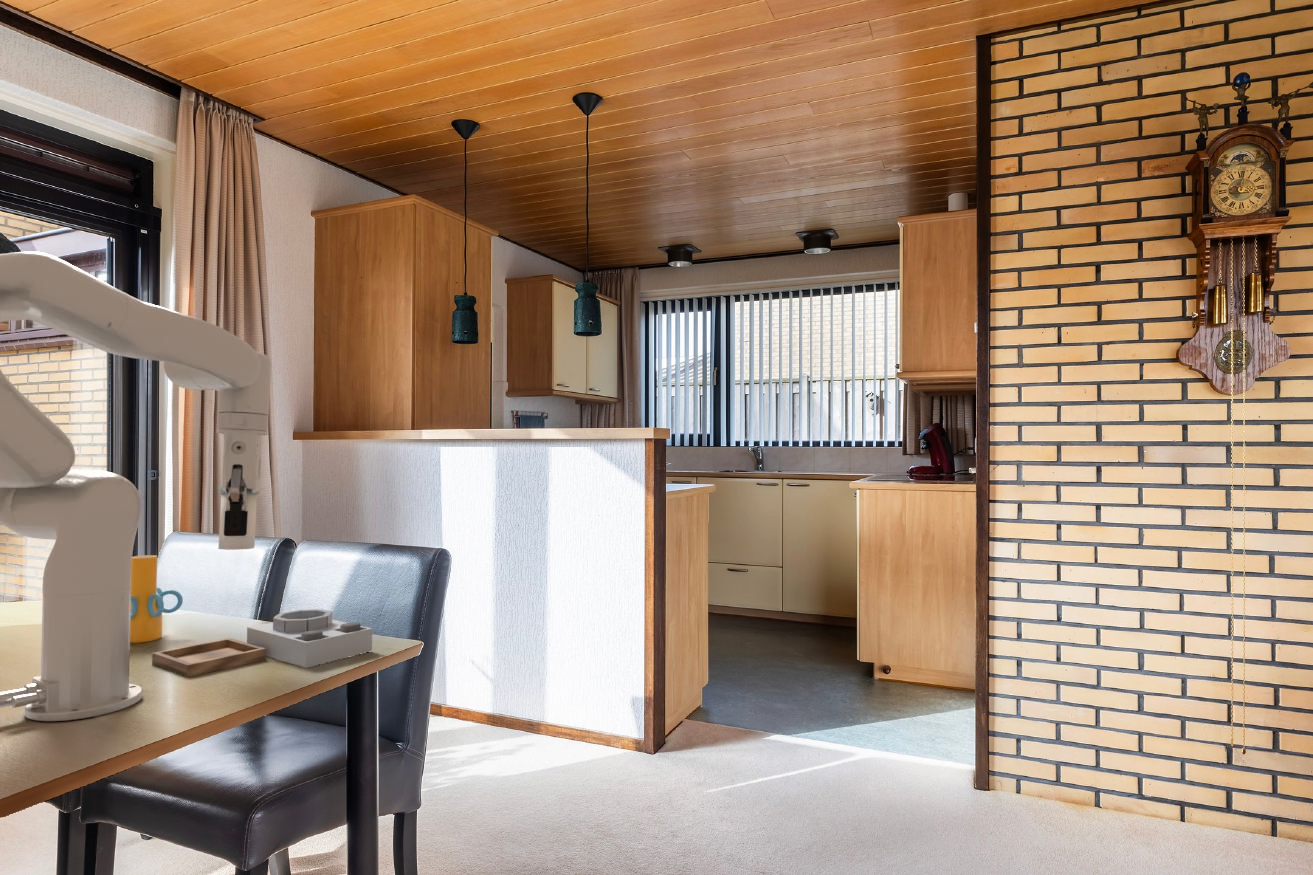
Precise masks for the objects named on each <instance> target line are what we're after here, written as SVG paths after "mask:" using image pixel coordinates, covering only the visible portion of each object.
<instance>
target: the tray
mask: <svg viewBox="0 0 1313 875" xmlns="http://www.w3.org/2000/svg"><path fill="white" fill-rule="evenodd" d="M265 660H267V657H266V648H263V647H259V646H256V645H252V644H249V643H247V642H244V641H241V640H237V639H234V638H230V637H228V638H222V639H217V640H212V641H207V642H201V643H197V644H192V645H191V644H190V645H185V646H181V647H176V648H170V649H165V650H160V651H155V652H152V653H151V664H152V665H153V664H154V665H153V666H156V667H158V668H161V667H162V669H164V670H166V671H169V670H170V672H172V673H175V672H176V673H175V674H178V673H179V674H178V675H180V674H181V675H182V676H183V675H184V677H186V676H190V677H193V675H194V676H199V675H203V674H206V673H211V672H216V671H220V670H224V669H228V667H230V668H234V667H238V666H242V664H243V665H246V664H247V665H248V664H251V663H256V661H257V662H262V661H265ZM202 673H203V674H202Z"/></svg>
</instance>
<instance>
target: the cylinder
mask: <svg viewBox="0 0 1313 875" xmlns="http://www.w3.org/2000/svg"><path fill="white" fill-rule="evenodd" d="M157 578H158V555H156V554H155V555H152V554H151V555H149V554H148V555H146V554H145V555H135V556H132V567H131V613H130V644H138V643H139V644H140V643H147V642H153V641H157V640H159V639H161V638H162V637H163V613H165V614H172V613H175V612H176V611H178V610H179V609H180V608H181V607H182V606H183V603H184V602H183V601H184V599H183V595H182V594H181V593H180V592H179V591H177V590H175V589H167V590H166V589H165V590H164V591H163V590H162V589H161V588H160V587H157V583H158V581H157V580H158V579H157ZM167 595H173V596H175V597H176V599H177V603H176V605H174V606H173V607H171V608H165V603H164V602H165V601H164V597H165V596H167Z"/></svg>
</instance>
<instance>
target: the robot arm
mask: <svg viewBox="0 0 1313 875" xmlns="http://www.w3.org/2000/svg"><path fill="white" fill-rule="evenodd" d="M27 320H28V321H32V322H35V323H38V324H41V325H43V326H46V327H48V328H50V329H53V330H54V331H57V332H60V333H62V334H64V335H65V336H69V337H70V338H73V339H76V340H78V341H79V342H80V341H81V342H83V343H85V344H87V345H89V346H92V347H94V348H96V349H99V350H101V351H102V352H105V353H108V354H112V355H116V356H120V357H125V358H131V359H137V360H148V361H157V362H159V361H160V362H163V370H164V373H165V375H166V377H167V378H168V380H170V381H171V382H172V383H173V384H174V385H176V386H178V387H179V388H181V389H185V390H189V391H217V392H218V397H217V398H218V399H217V414H216V415H217V416H216V417H217V419H216V432H215V433H217V434H224V435H223V436H224V437H223V452H222V473H221V474H222V476H221V477H222V486H223V491H225V492H226V493H227V505H226V511H225V521H224V535H225V536H245V535H246V534H247V517H248V511H246V502H247V489H252V493H256V492H257V491H258V489H259V492H260V491H261V467H262V466H261V462H262V437H261V436H267V435H268V432H269V431H268V430H269V418H270V417H269V412H270V411H269V410H270V393H271V392H270V391H271V375H272V362H271V359H270V357H269V356H268V355H267V354H265V353H262V352H258V351H256V350H255V349H254V348H253V347H252V345H250V344H249V343H248V342H247V341H245V340H244V339H242V338H241V337H239V336H237V335H235V334H233V333H231V332H229V331H228V330H226V329H223V328H222V327H220V326H218V325H215V324H213V323H211V322H208V321H206V320H204V319H200V318H197V317H194V316H190V315H187V314H184V313H181V312H178V311H175V310H172V309H168V308H165V307H162V306H160V305H155V304H153V303H149V302H146V301H142V300H140V299H138V298H137V297H134V296H132V295H129V294H128V293H127V292H124V291H122V290H121V289H118V288H116V287H115V286H112V285H110V284H109V283H107V282H105V281H103V280H101V279H100V278H97V277H95V276H93V275H91V274H90V273H88V272H86V271H84V270H82V269H81V268H79V267H77V266H74V265H72V264H71V263H69V262H67V261H65V260H63V259H61V258H59V257H56V256H54V255H52V254H48V253H45V252H40V251H19V252H16V251H15V252H8V253H0V323H3V322H11V321H12V322H14V321H27ZM75 462H76V452H75V447H74V445H73V443H72V440H71V439H70V438H69V436H67V434H66V433H65V432H64V431H63V430H62V429H61V428H60V427H59V426H57V424H56V423H55V422H54V421H52V420H51V419H50V418H49V417H48V416H47V415H45V414H44V413H43V412H42V410H40V409H39V408H38V407H37V406H36V405H35V404H34V403H32V402H31V401H30V400H29V399H28V398H27V397H26V396H25V395H24V394H23V393H22V392H20V391H19V390H18V389H17V388H16V386H15V385H14V384H13V383H12V382H11V381H10V380H9V379H8V377H7V376H6V375H5V374H4V373H3V371H2V370H1V368H0V524H1V525H3V526H4V527H5V528H7V529H9V530H10V531H12V532H14V533H16V534H18V535H20V536H22V537H23V536H24V537H26V538H27V537H28V538H31V539H32V538H33V539H42V540H53V541H55V542H54V544H53V547H52V549H51V551H50V553H49V556H48V558H47V560H46V562H45V563H46V564H45V565H44V569H43V576H42V611H41V612H42V616H41V618H42V619H41V651H40V652H41V656H40V658H41V660H40V661H41V662H40V675H38V676H33V677H32V682H31V683H28V684H25V685H23V688H16V689H7V690H4V691H0V708H1V709H2V708H6V707H10V706H11V707H12V709H15V708H20V707H24V713H23V714H24V716H25V718H27V719H29V720H33V721H39V722H62V721H63V722H64V721H72V720H73V721H74V720H80V719H88V718H92V717H97V716H103V715H106V714H109V713H110V714H111V713H113V712H117V711H120V710H123V709H125V708H129V707H130V706H133V705H135V704H136V703H138V702H139V701H141V699H142V698H143V694H144V693H143V688H142V687H141V686H140V685H137V684H134V683H130V660H131V657H130V652H131V643H130V613H131V567H132V557H133V554H134V553H133V551H134V545H135V539H136V535H137V530H138V529H139V525H140V524H139V523H140V520H141V515H142V500H141V495H140V493H139V490H138V488H136V486H135V485H134V484H133V482H132V481H130V480H129V479H128V478H126V477H124V476H122V475H120V474H118V473H114V472H110V471H106V470H99V469H98V470H97V469H96V470H95V469H72V468H73V467H74V465H75ZM226 486H228V487H226ZM226 489H228V492H227V490H226ZM240 489H244V491H240Z"/></svg>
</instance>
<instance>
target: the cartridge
mask: <svg viewBox="0 0 1313 875" xmlns="http://www.w3.org/2000/svg"><path fill="white" fill-rule="evenodd" d="M226 487H228V486H226ZM226 490H227V492H228V489H226ZM240 491H244V489H240ZM259 492H260V491H259V489H258V491H257V492H256V493H252V489H247V502H246V511H248V517H247V534H246V535H245V536H225V535H224V521H225V511H226V505H227V493H226V492H225V491H223V485H222V486H221V485H220V488H219V494H221V495H220V509H219V510H220V515H219V532H218V550H227V551H228V550H229V551H230V550H235V551H236V550H251V549H255V544H256V543H255V540H256V524H257V523H256V520H257V506H258V505H257V503H258V501H257V500H258V498H257V497H258V495H259Z"/></svg>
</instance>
